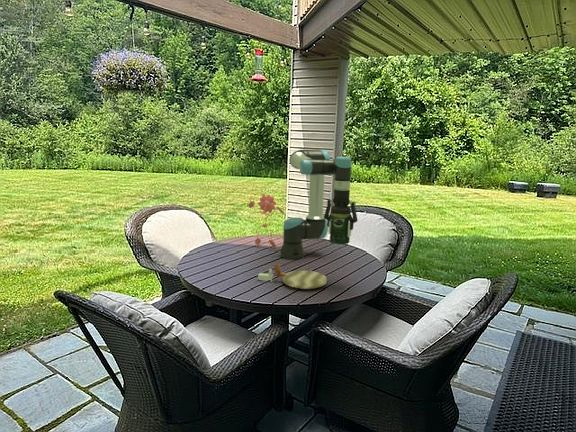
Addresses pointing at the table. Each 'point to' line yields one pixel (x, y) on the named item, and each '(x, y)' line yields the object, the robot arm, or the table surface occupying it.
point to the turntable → (301, 278)
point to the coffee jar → (339, 225)
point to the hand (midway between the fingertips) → (339, 234)
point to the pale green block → (266, 276)
